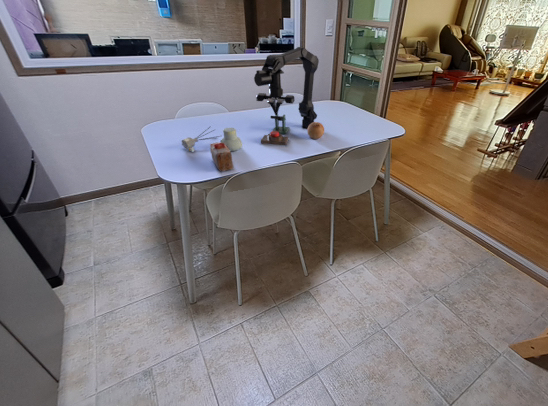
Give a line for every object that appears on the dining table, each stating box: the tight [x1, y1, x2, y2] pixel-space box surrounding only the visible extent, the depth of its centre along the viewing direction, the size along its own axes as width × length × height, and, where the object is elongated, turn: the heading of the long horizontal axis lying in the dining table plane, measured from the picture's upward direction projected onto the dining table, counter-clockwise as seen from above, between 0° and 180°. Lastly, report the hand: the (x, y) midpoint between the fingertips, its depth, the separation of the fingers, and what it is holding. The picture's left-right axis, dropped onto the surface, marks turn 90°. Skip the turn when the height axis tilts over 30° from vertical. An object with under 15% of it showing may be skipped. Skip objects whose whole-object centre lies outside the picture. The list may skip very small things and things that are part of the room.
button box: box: [260, 133, 290, 146], centre depth 151 cm, size 13×8×4 cm, turn 86°
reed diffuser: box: [181, 126, 221, 153], centre depth 143 cm, size 10×7×20 cm
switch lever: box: [270, 115, 283, 122], centre depth 157 cm, size 12×6×2 cm, turn 176°
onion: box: [306, 121, 325, 140], centre depth 158 cm, size 10×9×10 cm
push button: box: [269, 130, 279, 137], centre depth 149 cm, size 4×4×2 cm
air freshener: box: [220, 127, 243, 152], centre depth 138 cm, size 11×8×10 cm
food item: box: [209, 141, 234, 172], centre depth 124 cm, size 14×8×10 cm, turn 31°
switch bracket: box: [272, 113, 290, 135], centre depth 163 cm, size 10×8×9 cm
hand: (276, 115), depth 151 cm, fingers closed
